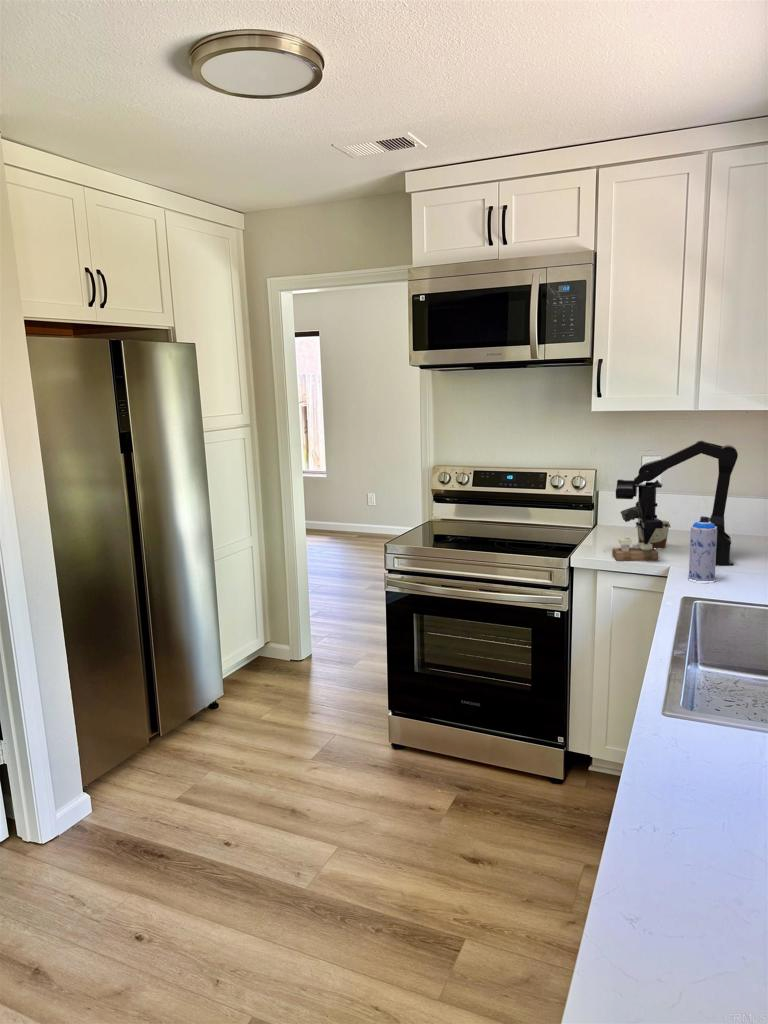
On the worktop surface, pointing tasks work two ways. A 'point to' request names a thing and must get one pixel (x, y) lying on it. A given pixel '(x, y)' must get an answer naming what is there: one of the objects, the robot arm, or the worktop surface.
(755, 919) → the worktop surface
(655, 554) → the bar
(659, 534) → the food container
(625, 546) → the plunger
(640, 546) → the plunger
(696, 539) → the aerosol can
